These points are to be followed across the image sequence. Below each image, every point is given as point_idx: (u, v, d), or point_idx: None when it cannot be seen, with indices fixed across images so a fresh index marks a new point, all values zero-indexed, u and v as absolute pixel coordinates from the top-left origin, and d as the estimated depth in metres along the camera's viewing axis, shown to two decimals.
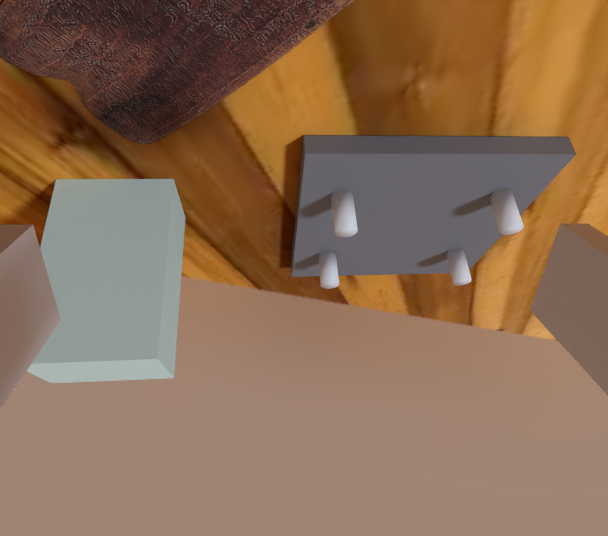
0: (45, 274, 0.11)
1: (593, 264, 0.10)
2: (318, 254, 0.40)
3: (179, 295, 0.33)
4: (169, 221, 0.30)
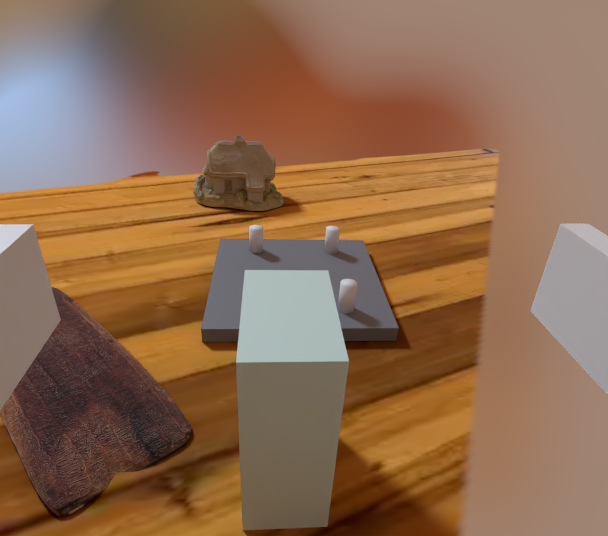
0: (45, 274, 0.11)
1: (593, 264, 0.10)
2: (346, 314, 0.42)
3: None
4: None
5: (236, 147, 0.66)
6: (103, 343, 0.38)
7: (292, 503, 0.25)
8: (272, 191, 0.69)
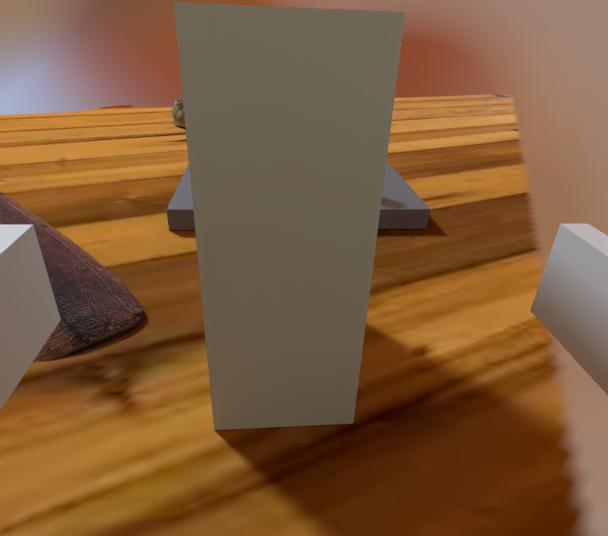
0: (45, 274, 0.11)
1: (593, 264, 0.10)
2: None
3: None
4: None
5: None
6: None
7: (296, 375, 0.15)
8: None
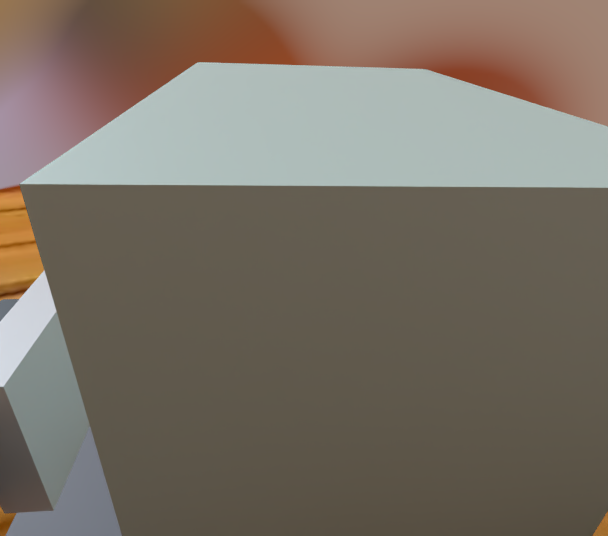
0: None
1: None
2: None
3: None
4: None
5: None
6: None
7: None
8: None
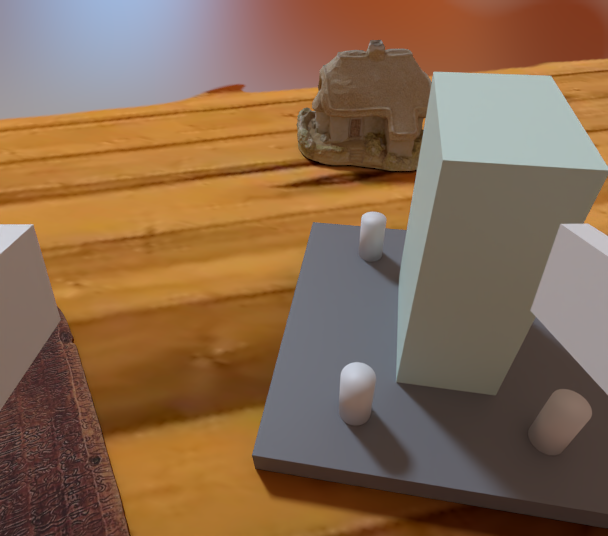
0: (45, 274, 0.11)
1: (593, 264, 0.10)
2: (548, 454, 0.20)
3: None
4: (406, 235, 0.26)
5: (372, 61, 0.39)
6: (79, 466, 0.21)
7: (462, 361, 0.21)
8: None
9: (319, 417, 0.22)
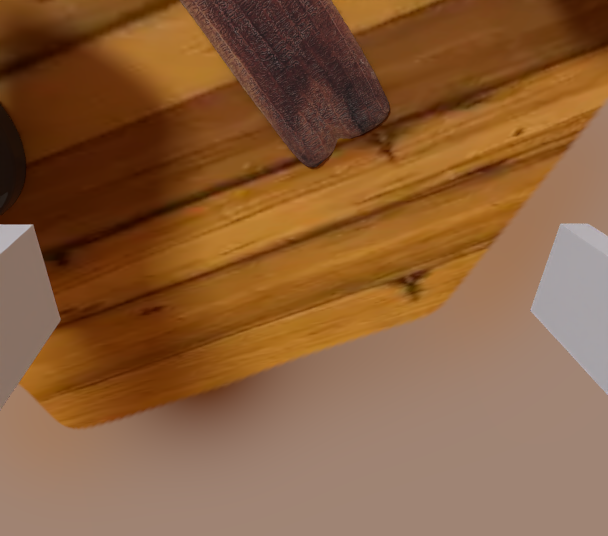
0: (45, 274, 0.11)
1: (593, 264, 0.10)
2: None
3: None
4: None
5: None
6: None
7: None
8: None
9: None
